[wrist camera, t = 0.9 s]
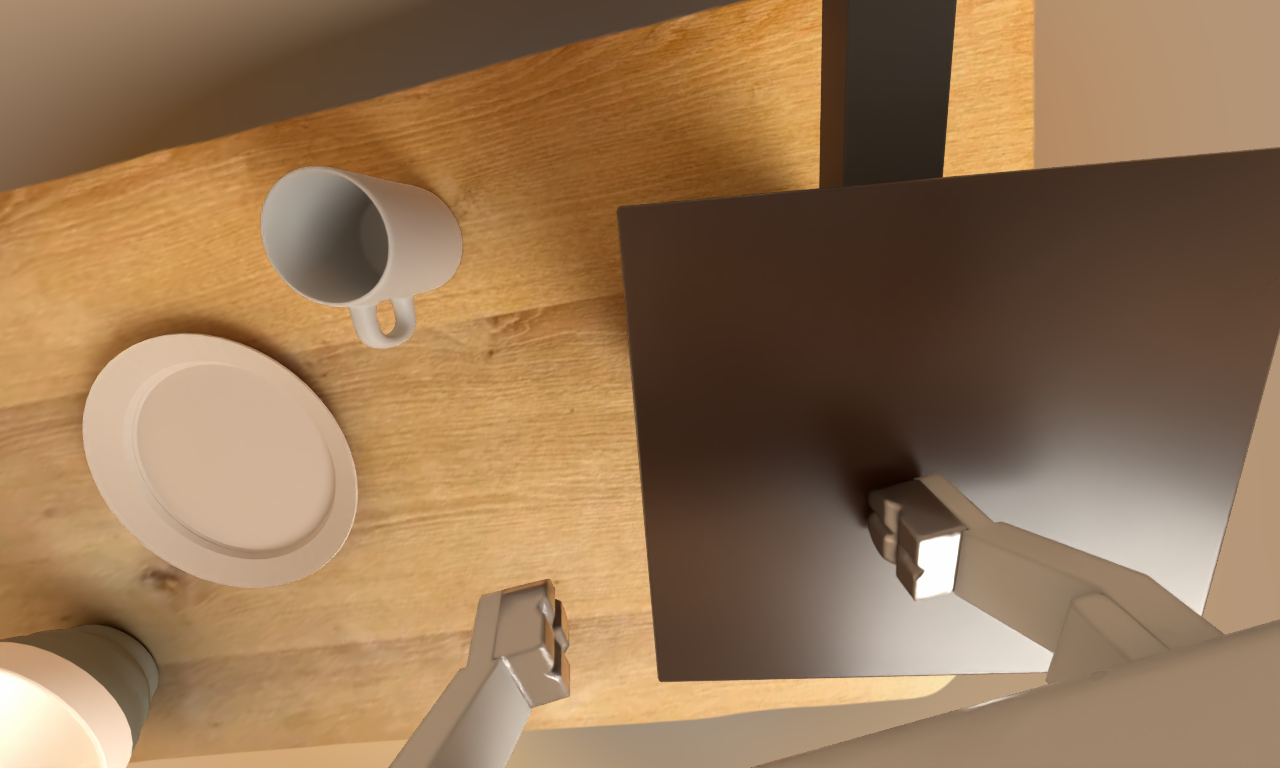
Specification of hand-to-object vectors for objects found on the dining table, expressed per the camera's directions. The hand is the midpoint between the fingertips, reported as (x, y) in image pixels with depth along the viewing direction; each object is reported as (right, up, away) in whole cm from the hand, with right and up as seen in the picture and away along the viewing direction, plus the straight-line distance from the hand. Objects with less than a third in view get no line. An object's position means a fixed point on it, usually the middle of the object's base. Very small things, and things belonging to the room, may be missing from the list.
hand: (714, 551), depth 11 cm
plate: (-40, -4, +36) cm, 54 cm away
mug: (-20, +14, +30) cm, 39 cm away
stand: (+6, +10, +30) cm, 32 cm away
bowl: (-61, -27, +44) cm, 80 cm away
